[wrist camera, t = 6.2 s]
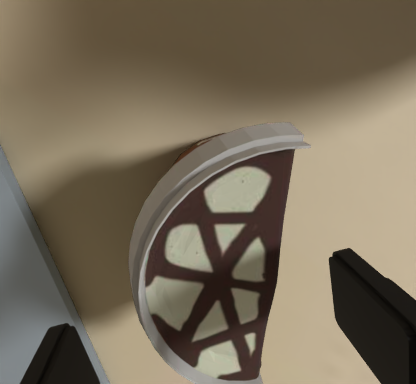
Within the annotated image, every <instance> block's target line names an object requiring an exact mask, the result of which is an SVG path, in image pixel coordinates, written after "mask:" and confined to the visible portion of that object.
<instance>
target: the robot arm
mask: <svg viewBox="0 0 416 384" xmlns="http://www.w3.org/2000/svg"><path fill="white" fill-rule="evenodd" d="M329 266H330V275H331V285H332V294H333V303H334V312H335V318H336V321H337V324H338V325H339V327H340V328H341V330H342V331H343V332H344V334H345V335H346V337H347V338H348V339H349V341H350V342H351V343H352V345H353V346H354V347H355V349H356V350H357V352H358V353H359V354H360V356H361V357H362V358H363V360H364V361H365V362H366V364H367V365H368V366H369V368H370V369H371V371H372V372H373V373H374V375H375V376H376V377H377V379H378V380H379V381H380V383H381V384H416V300H415V299H414V298H412V297H411V296H410V295H409V294H408V293H406V292H405V291H404V290H403V289H401V288H400V287H399V286H398V285H397V284H395V283H394V282H393V281H392V280H390V279H389V278H385V277H384V276H383V275H381V274H380V273H379V272H378V271H377V270H375V269H374V268H373V267H372V266H371V265H369V264H368V263H367V262H366V261H365V260H364V259H362V258H361V257H360V256H359V255H358V254H356V253H355V252H354V251H353V250H352V249H350V248H347V249H343V250H339V251H335V252H333V257H330V258H329ZM20 384H100V381H99V378H98V376H97V374H96V372H95V370H94V367H93V365H92V363H91V361H90V358H89V356H88V354H87V352H86V350H85V347H84V345H83V343H82V341H81V338H80V336H79V334H78V332H77V330H76V328H75V326H70V325H69V324H68V323H64V324H60V325H56V326H53V327H50V328H49V329H48V330H47V332H46V334H45V336H44V338H43V340H42V342H41V344H40V345H39V347H38V349H37V351H36V353H35V355H34V357H33V359H32V361H31V363H30V365H29V367H28V368H27V370H26V372H25V374H24V376H23V378H22V380H21V382H20Z"/></svg>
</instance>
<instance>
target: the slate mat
mask: <svg viewBox="0 0 416 384" xmlns="http://www.w3.org/2000/svg"><path fill="white" fill-rule="evenodd" d="M64 323H68V324H69V325H70V326H75V328H76V330H77V332H78V334H79V336H80V338H81V341H82V343H83V345H84V347H85V350H86V352H87V354H88V356H89V358H90V361H91V363H92V365H93V367H94V370H95V372H96V374H97V376H98V378H99V381H100V384H110V382H109V380H108V378H107V376H106V374H105V372H104V369H103V367H102V365H101V363H100V361H99V359H98V356H97V354H96V352H95V350H94V348H93V345H92V343H91V341H90V339H89V337H88V335H87V332H86V330H85V328H84V326H83V324H82V322H81V319H80V317H79V315H78V313H77V311H76V308H75V306H74V304H73V302H72V300H71V298H70V295H69V293H68V291H67V289H66V287H65V285H64V282H63V280H62V278H61V276H60V274H59V271H58V269H57V267H56V265H55V263H54V261H53V258H52V256H51V254H50V252H49V250H48V248H47V245H46V243H45V241H44V239H43V237H42V234H41V232H40V230H39V228H38V226H37V224H36V221H35V219H34V217H33V215H32V213H31V211H30V208H29V206H28V204H27V202H26V200H25V197H24V195H23V193H22V191H21V189H20V187H19V184H18V182H17V180H16V178H15V176H14V174H13V171H12V169H11V167H10V165H9V163H8V160H7V158H6V156H5V154H4V152H3V150H2V147H1V145H0V384H20V382H21V380H22V378H23V376H24V374H25V372H26V370H27V368H28V367H29V365H30V363H31V361H32V359H33V357H34V355H35V353H36V351H37V349H38V347H39V345H40V344H41V342H42V340H43V338H44V336H45V334H46V332H47V330H48V329H49V328H50V327H53V326H56V325H60V324H64Z"/></svg>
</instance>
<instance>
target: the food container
mask: <svg viewBox="0 0 416 384" xmlns="http://www.w3.org/2000/svg"><path fill="white" fill-rule="evenodd" d="M303 137H304V135H303V134H302V133H301V132H300V131H299V130H298V129H297V128H296V127H295V126H294V125H293V124H291V123H290V122H287V123H265V124H260V125H254V126H249V127H244V128H240V129H237V130H235V131H232V132H229V133H222V134H219V135H216V136H213V137H210V138H207V139H204V140H200V141H199V142H197V143H196V144H194V145H193V146H192V147H190V148H189V149H188V150H186V151H185V152H183V153H182V154H181V155H180V156H179V157H178V159H177V160H176V161H175V163H174V164H173V166H172V167H171V168H170V170H169V171H168V172H167V173H166V174H165V175H164V176H163V177H162V178H161V179H160V181H159V182H158V183H157V184H156V186H155V187H154V189H153V190H152V192H151V193H150V195H149V196H148V198H147V199H146V201H145V202H144V204H143V207H142V209H141V211H140V213H139V215H138V217H137V220H136V222H135V225H134V229H133V233H132V237H131V241H130V248H129V261H128V265H129V274H130V283H131V289H132V294H133V300H134V304H135V308H136V311H137V314H138V318H139V321H140V323H141V325H142V327H143V329H144V330H145V332H146V334H147V336H148V338H149V339H150V341H151V343H152V345H153V346H154V348H155V350H156V351H157V352H158V353H159V355H160V356H161V357H162V358H163V360H164V361H165V362H166V363H167V364H168V365H169V366H170V367H172V368H173V369H174V370H175V371H176V372H177V373H178V374H180V375H181V376H183V377H184V378H186V379H188V380H189V381H191V382H193V383H194V384H263V382H262V379H261V375H260V372H259V371H260V367H261V356H262V348H263V342H264V336H265V331H266V326H267V321H268V317H269V313H270V309H271V305H272V301H273V297H274V293H275V288H276V284H277V276H278V267H279V257H280V246H281V237H282V229H283V220H284V214H285V208H286V201H287V195H288V189H289V182H290V176H291V170H292V164H293V158H294V151H295V149H301V148H310V147H311V145H309V144H307V143H305V142H303Z"/></svg>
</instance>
